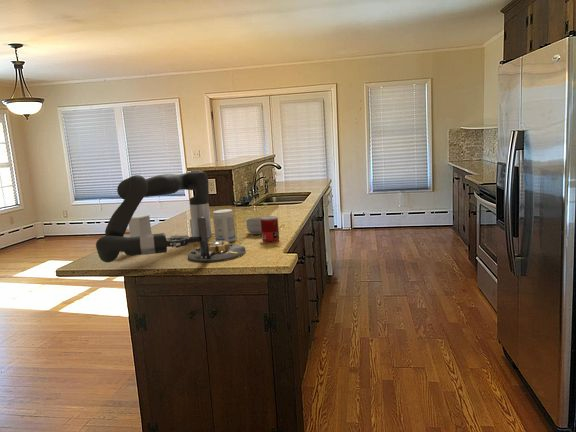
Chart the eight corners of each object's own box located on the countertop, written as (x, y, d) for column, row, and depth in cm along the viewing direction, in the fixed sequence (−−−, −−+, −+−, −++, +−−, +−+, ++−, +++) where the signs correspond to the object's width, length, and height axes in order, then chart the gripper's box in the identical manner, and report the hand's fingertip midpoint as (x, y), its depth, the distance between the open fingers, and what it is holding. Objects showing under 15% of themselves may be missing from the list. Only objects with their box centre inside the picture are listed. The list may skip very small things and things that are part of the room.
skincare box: (142, 251, 210) (138, 217, 207) (130, 251, 212) (126, 217, 209) (153, 247, 217) (150, 214, 215) (142, 246, 220) (138, 214, 217)
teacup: (243, 235, 230) (242, 219, 229) (253, 231, 240) (251, 216, 239) (268, 236, 225) (267, 219, 224) (277, 231, 235) (276, 216, 234)
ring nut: (209, 246, 200) (205, 210, 198) (232, 246, 198) (229, 209, 196) (191, 259, 181) (186, 218, 178) (217, 258, 179) (213, 218, 176)
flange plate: (175, 259, 190) (174, 248, 189) (211, 246, 210) (210, 235, 210) (223, 263, 178) (222, 251, 177) (256, 249, 199) (255, 237, 198)
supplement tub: (233, 238, 226) (230, 208, 224) (238, 241, 217) (235, 210, 215) (213, 240, 223) (210, 210, 220) (217, 244, 214) (214, 213, 212)
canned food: (277, 242, 209) (275, 218, 208) (260, 242, 211) (258, 219, 209) (280, 238, 217) (279, 215, 215) (264, 239, 218) (262, 216, 217)
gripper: (152, 237, 168) (200, 232, 173) (152, 231, 181) (197, 226, 185) (154, 257, 169) (201, 251, 174) (154, 250, 182) (198, 244, 186)
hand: (199, 238), depth 180 cm, fingers closed
